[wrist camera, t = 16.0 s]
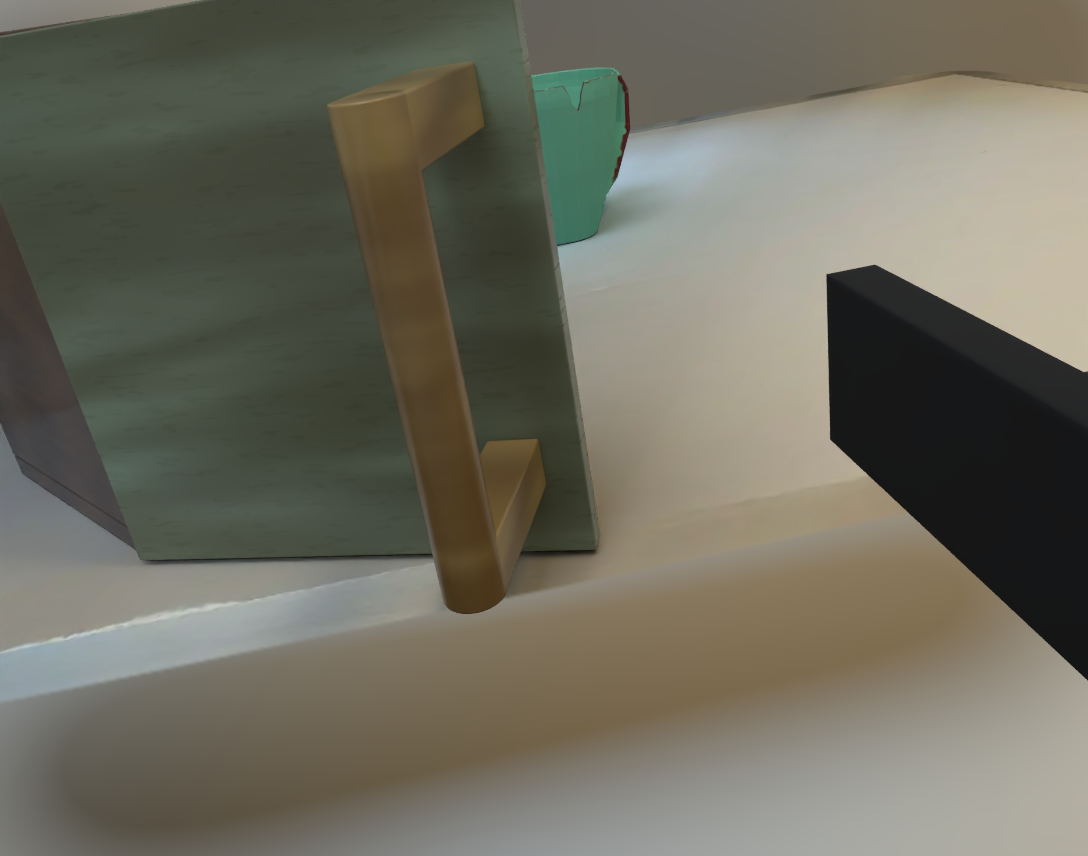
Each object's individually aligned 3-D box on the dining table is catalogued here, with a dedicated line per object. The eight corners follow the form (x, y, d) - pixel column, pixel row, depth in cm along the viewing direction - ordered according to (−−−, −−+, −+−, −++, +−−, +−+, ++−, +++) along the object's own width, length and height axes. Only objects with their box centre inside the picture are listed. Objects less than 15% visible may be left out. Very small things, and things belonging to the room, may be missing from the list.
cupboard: (471, 384, 44) (390, -26, 37) (139, 552, 34) (-60, 41, 27) (324, 346, 52) (234, 4, 45) (22, 474, 42) (-155, 64, 35)
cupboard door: (561, 691, 24) (425, -51, 17) (18, 685, 28) (-278, 75, 21) (600, 536, 30) (512, -54, 23) (152, 548, 34) (-41, 43, 27)
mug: (590, 257, 60) (567, 89, 55) (463, 255, 65) (433, 101, 61) (687, 196, 70) (674, 51, 66) (572, 199, 76) (553, 64, 71)
